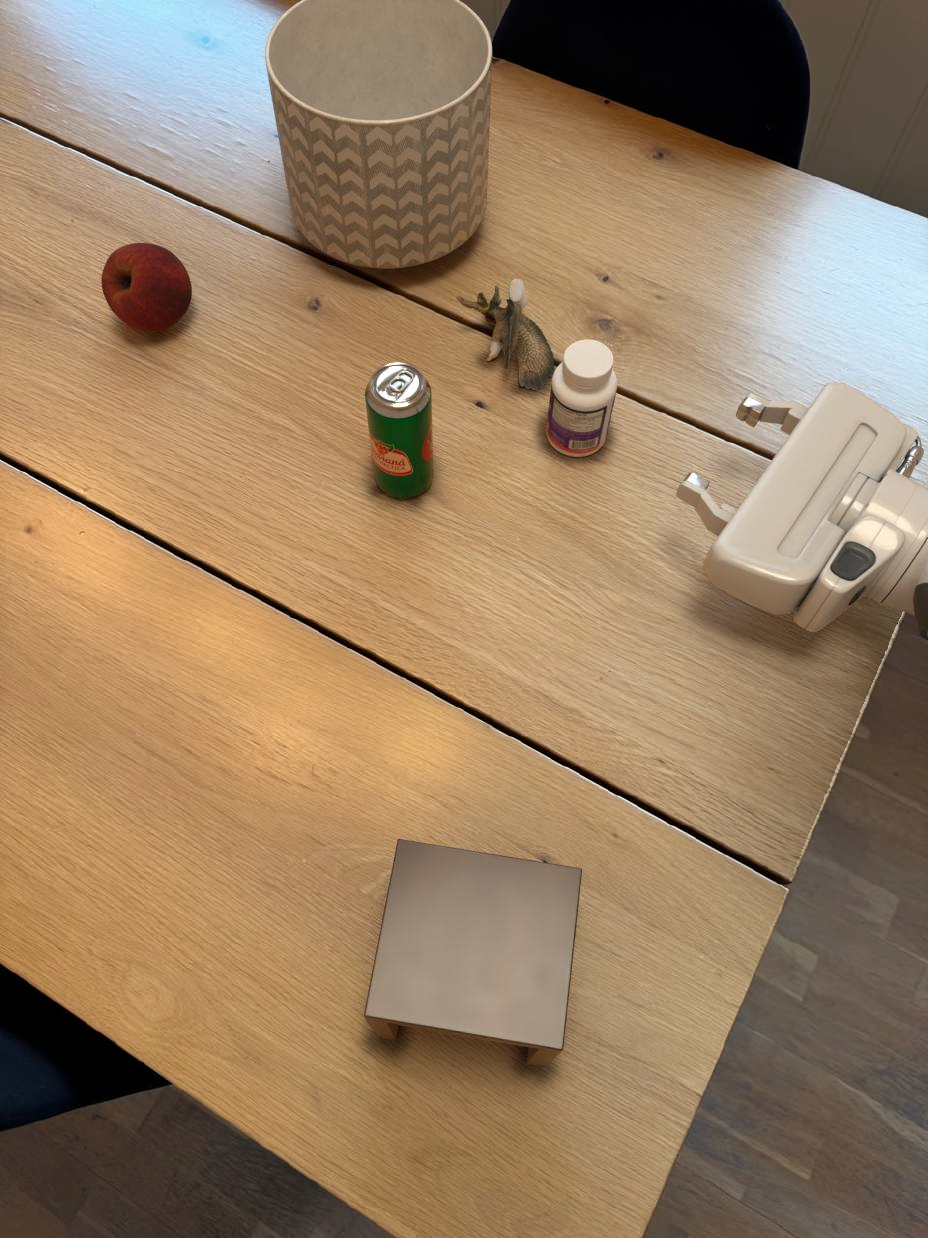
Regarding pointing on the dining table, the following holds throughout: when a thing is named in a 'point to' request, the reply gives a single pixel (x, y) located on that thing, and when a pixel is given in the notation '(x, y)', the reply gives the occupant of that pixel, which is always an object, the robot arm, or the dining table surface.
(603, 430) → the pill bottle
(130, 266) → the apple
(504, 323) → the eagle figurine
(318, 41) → the planter
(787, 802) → the dining table surface
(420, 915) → the small side table
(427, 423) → the soda can
